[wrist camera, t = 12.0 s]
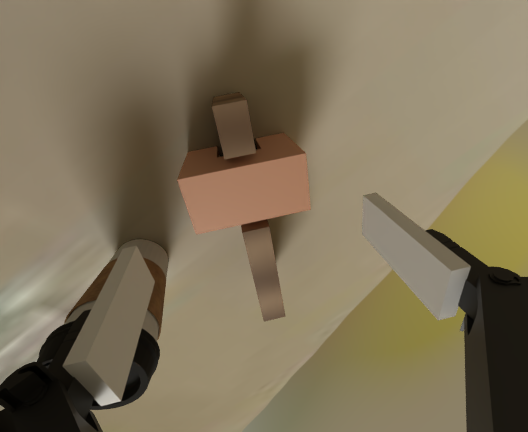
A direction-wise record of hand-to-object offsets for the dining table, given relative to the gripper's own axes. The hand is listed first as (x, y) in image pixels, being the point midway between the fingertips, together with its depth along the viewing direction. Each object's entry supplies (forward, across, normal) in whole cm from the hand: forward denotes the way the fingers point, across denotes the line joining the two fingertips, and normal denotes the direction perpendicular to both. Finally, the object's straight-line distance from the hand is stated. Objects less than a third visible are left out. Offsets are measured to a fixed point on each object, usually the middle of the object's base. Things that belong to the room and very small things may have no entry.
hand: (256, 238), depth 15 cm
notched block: (+15, 0, 0) cm, 15 cm away
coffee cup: (+15, -14, -9) cm, 22 cm away
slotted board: (+15, 0, -4) cm, 15 cm away
